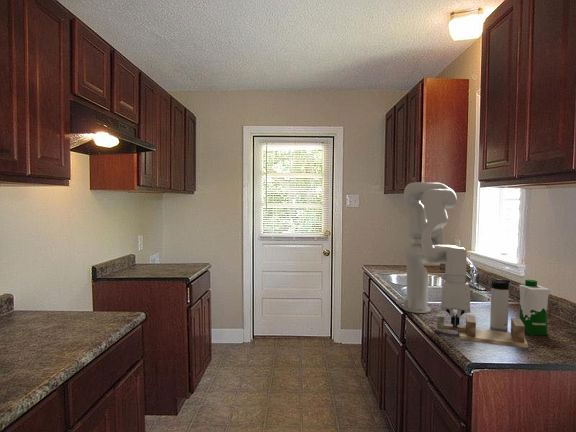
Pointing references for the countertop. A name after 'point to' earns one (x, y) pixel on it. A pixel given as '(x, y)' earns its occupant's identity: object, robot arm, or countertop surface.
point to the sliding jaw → (469, 327)
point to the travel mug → (499, 305)
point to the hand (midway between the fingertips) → (455, 326)
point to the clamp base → (500, 335)
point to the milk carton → (534, 307)
